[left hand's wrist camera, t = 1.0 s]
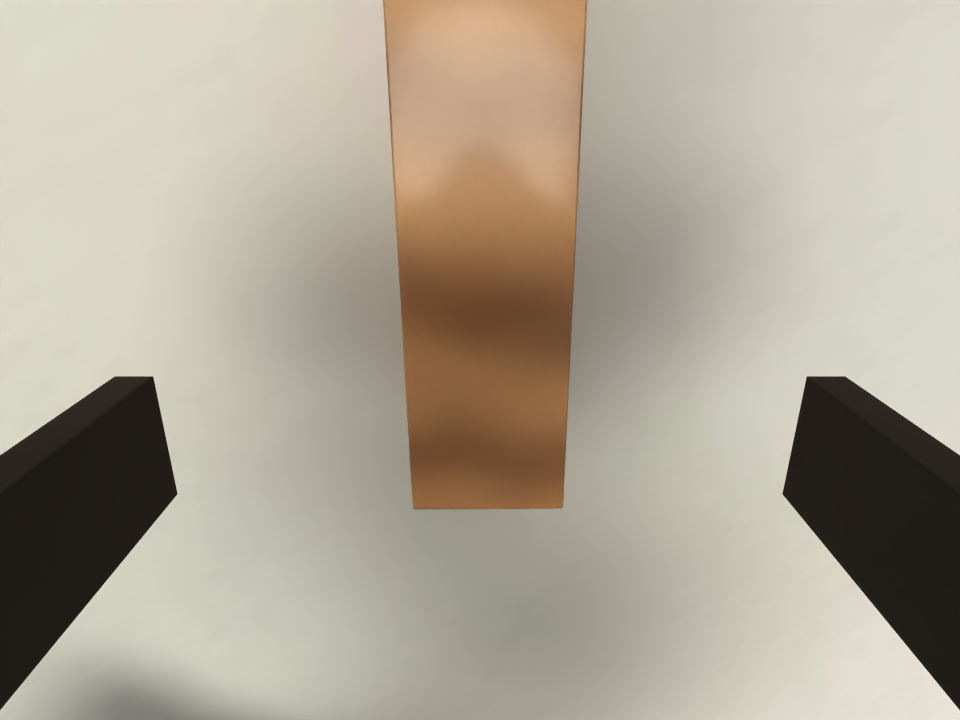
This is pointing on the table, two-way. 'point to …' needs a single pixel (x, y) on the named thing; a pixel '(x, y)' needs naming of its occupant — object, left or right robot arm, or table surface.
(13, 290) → the table surface
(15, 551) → the left robot arm
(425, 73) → the bar
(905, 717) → the table surface
